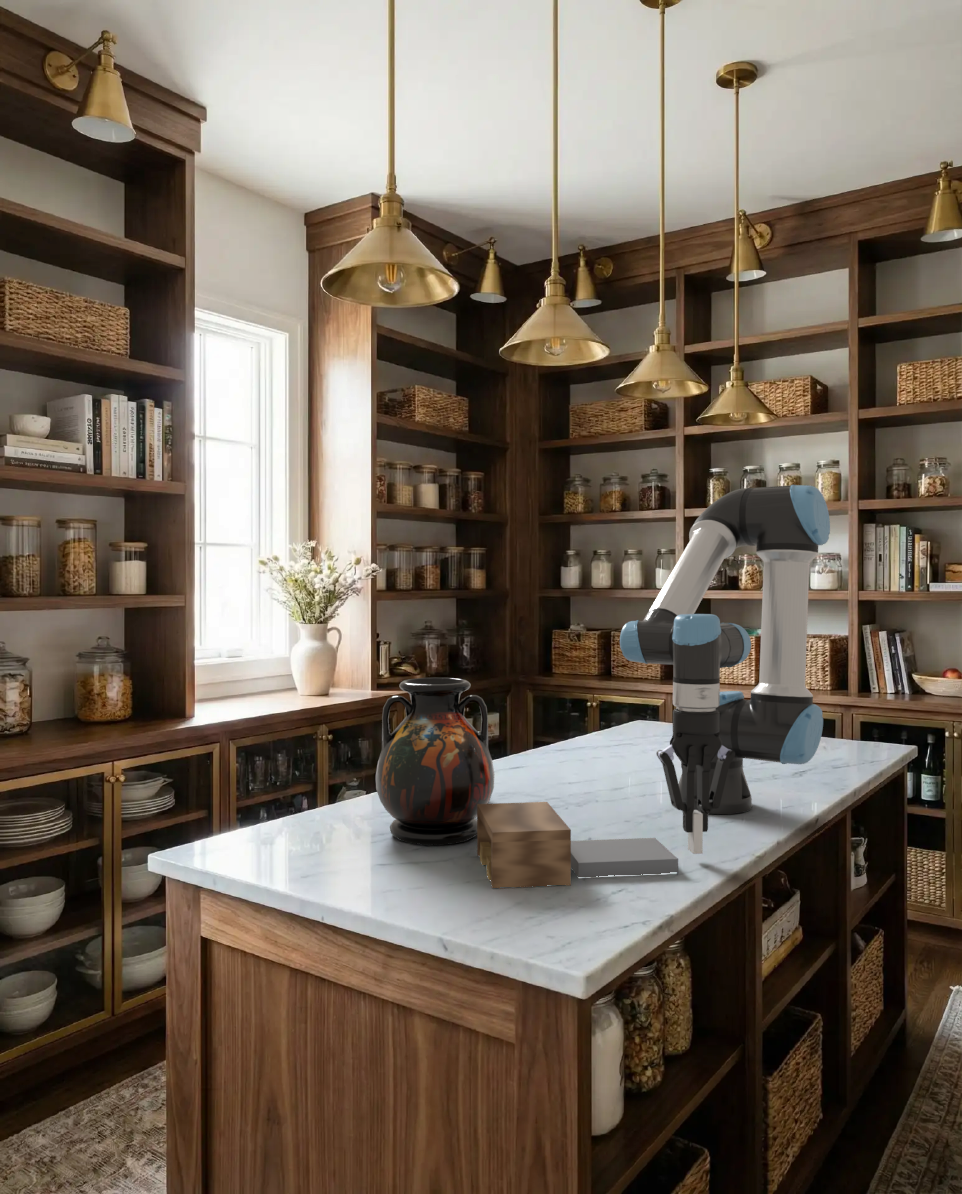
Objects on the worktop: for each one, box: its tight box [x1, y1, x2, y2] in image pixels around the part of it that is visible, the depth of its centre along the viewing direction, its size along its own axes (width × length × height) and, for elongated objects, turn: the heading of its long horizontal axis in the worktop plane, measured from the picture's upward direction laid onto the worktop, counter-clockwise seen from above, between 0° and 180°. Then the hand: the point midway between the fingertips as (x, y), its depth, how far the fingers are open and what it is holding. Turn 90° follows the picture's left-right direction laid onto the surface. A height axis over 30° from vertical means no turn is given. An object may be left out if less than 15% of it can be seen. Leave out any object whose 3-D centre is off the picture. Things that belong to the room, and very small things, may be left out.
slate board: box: [571, 837, 679, 878], centre depth 156 cm, size 16×12×3 cm
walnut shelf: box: [476, 801, 572, 889], centre depth 154 cm, size 12×18×8 cm, turn 8°
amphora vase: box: [375, 677, 495, 846], centre depth 174 cm, size 22×22×28 cm
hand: (695, 851), depth 157 cm, fingers closed
